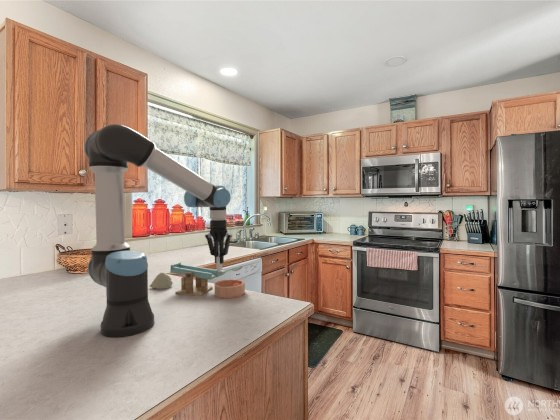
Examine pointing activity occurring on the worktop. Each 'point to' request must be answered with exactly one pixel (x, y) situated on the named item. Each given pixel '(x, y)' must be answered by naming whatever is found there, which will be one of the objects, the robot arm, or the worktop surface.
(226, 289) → the bowl
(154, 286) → the seashell
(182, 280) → the stand
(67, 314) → the worktop surface
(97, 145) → the robot arm
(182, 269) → the lever
